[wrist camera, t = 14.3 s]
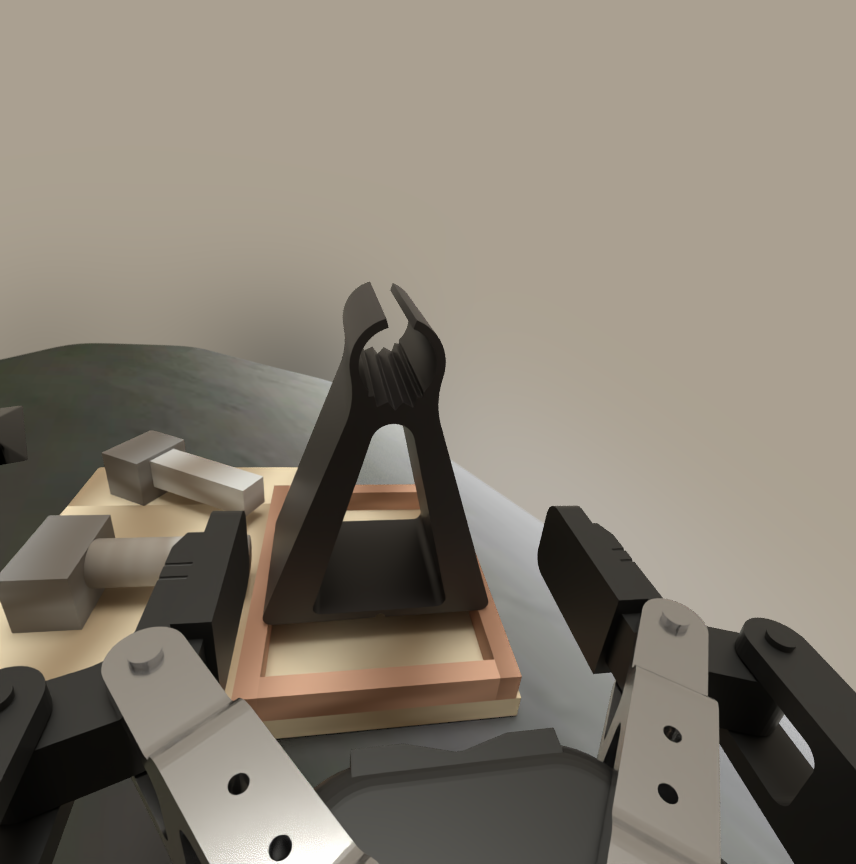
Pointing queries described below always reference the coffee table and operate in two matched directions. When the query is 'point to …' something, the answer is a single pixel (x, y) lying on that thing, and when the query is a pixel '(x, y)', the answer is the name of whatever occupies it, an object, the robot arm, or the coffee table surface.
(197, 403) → the coffee table surface
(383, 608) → the phone stand
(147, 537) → the stand
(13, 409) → the black slotted box
